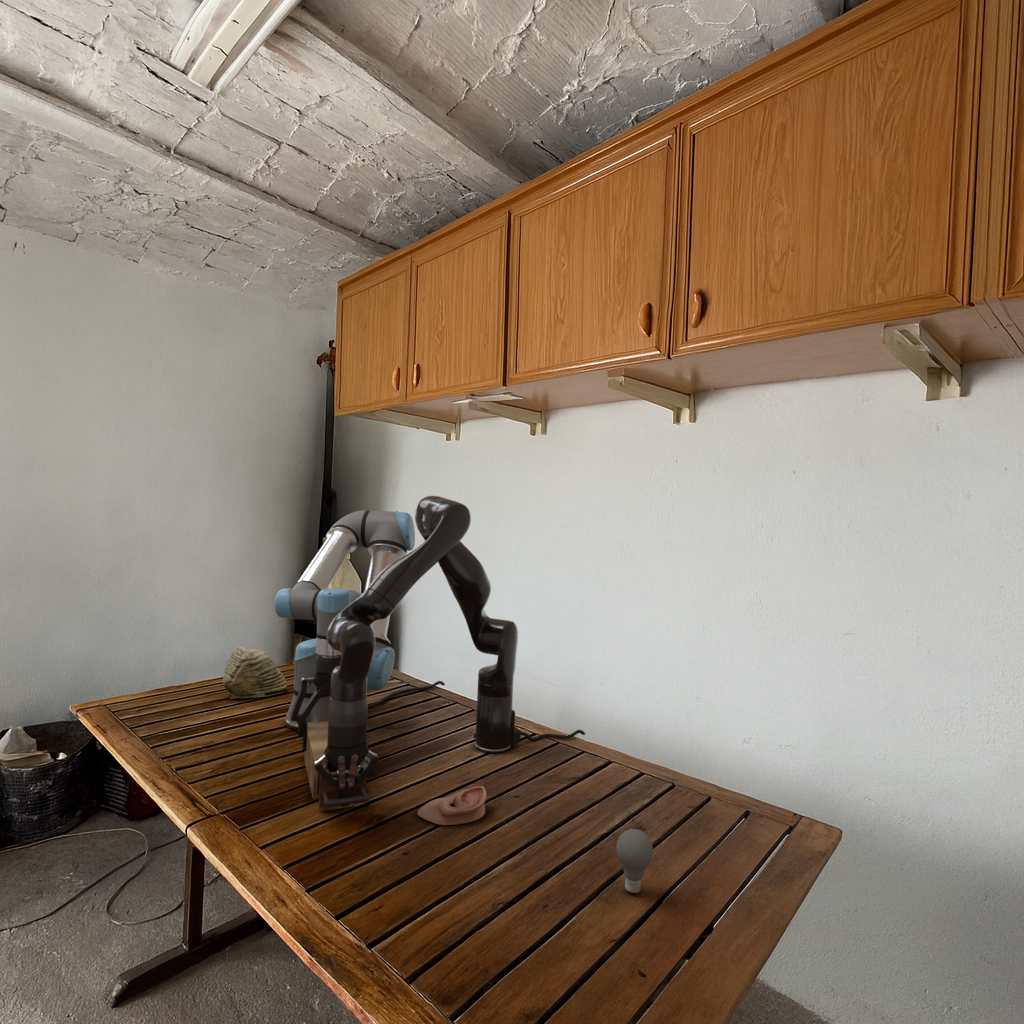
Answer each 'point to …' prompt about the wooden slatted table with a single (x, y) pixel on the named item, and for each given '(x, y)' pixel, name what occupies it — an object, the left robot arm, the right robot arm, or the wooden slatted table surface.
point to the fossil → (252, 674)
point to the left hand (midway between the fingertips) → (328, 746)
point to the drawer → (330, 793)
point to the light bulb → (634, 857)
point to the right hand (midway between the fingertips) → (345, 804)
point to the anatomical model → (456, 807)
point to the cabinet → (316, 752)
